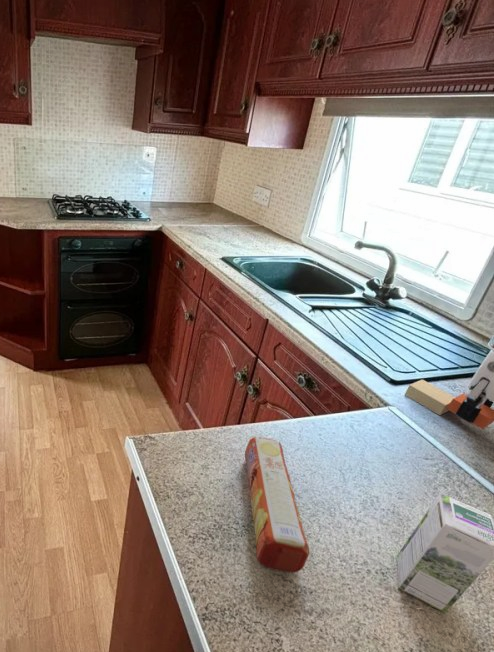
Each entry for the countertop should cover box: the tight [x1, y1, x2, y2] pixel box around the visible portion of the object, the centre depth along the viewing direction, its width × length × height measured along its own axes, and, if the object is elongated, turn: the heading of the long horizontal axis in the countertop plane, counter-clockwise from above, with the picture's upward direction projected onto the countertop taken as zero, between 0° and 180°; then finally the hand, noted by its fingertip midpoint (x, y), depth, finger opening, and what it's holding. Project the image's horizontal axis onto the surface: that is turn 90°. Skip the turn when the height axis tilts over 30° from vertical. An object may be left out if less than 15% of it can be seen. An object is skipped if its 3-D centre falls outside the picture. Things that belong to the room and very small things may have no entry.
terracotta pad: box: [447, 393, 494, 430], centre depth 90 cm, size 7×5×3 cm
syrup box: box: [396, 493, 494, 614], centre depth 54 cm, size 6×6×14 cm
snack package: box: [244, 436, 310, 573], centre depth 64 cm, size 21×7×7 cm, turn 169°
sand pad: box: [404, 379, 455, 416], centre depth 97 cm, size 8×6×3 cm
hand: (470, 414), depth 90 cm, fingers closed on terracotta pad, 5 cm apart
